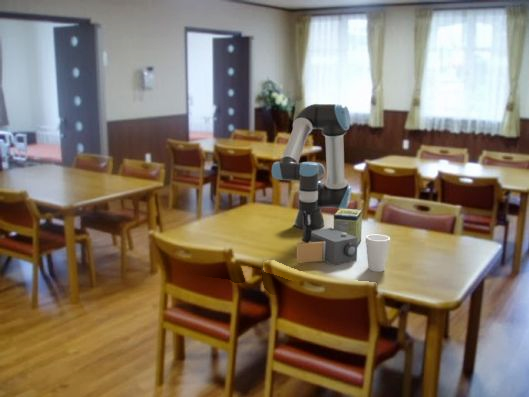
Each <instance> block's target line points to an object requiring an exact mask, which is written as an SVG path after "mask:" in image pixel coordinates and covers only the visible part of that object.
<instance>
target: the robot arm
mask: <svg viewBox="0 0 529 397" xmlns="http://www.w3.org/2000/svg"><path fill="white" fill-rule="evenodd" d="M350 125H351V117H350V111H349V108H348V107H347V106H346V105H345V104H339V103H336V104H333V103H332V104H327V103H326V104H323V103H321V104H319V103H314V104H310V105H308V106H306V107H305V108H303V109H302V110H300V112H298V113H297V114H296V116H295V117H294V119H293V122H292V131H291V134H290V136H289V138H288V141H287V143H286V145H285V146H286V147H285V149H284V150H283V154H282V157H281V158H280V159H281V160H280V161H275V162H273V164H272V165H271V176H272V178H273V179H274V180H280V181H297V182H298V181H299V183H298V184H299V186H298V192H297V195H298V212H297V214H296V218H295V220H294V226H295V225H296V226H297V228H298V227H300V229H303V230H302V237H303V238H302V239H301V240H302V243H310V241H311V231H313V230H317V229H316V228H318V229H321V227H322V228H324V227H325V220H324V216H323V214H322V208H331V209H338V210H339V209H340V208H348V207H349V204H350V201H351V196H352V186H351V185H349V183H348V182H349V181H348V180H346V178H345V150H344V148H345V146H344V135H346V134H347V131H348V130H350ZM313 130H321V134H322V135H323V136H324V138H325V140H324V141H325V160H326V163H325V164H326V168H325V166H324V164H322V163H320V162H314V161H303V162H299V161H300V158H301V156H302V154H303V153H302V152H303V150H304V147H305V145H306V142H307V139H308V136H309V134H311V133H312V132H313ZM325 175H326V180H325V182H324V183H323V182H322V181H321V180H323V178H324V176H325ZM322 183H323V184H322ZM296 226H295V227H296ZM323 226H324V227H323Z"/></svg>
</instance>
